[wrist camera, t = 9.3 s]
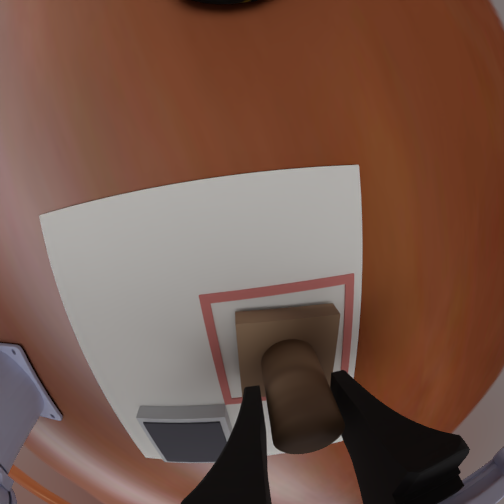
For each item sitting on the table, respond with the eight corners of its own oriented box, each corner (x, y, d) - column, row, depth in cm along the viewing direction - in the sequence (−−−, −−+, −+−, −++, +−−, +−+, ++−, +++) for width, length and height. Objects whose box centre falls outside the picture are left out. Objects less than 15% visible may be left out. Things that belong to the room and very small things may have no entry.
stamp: (241, 379, 15) (246, 470, 9) (235, 307, 14) (237, 401, 8) (322, 371, 16) (357, 453, 9) (330, 299, 14) (384, 379, 8)
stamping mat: (146, 455, 18) (143, 469, 17) (42, 214, 12) (24, 220, 11) (341, 438, 19) (347, 452, 17) (356, 165, 13) (371, 165, 11)
